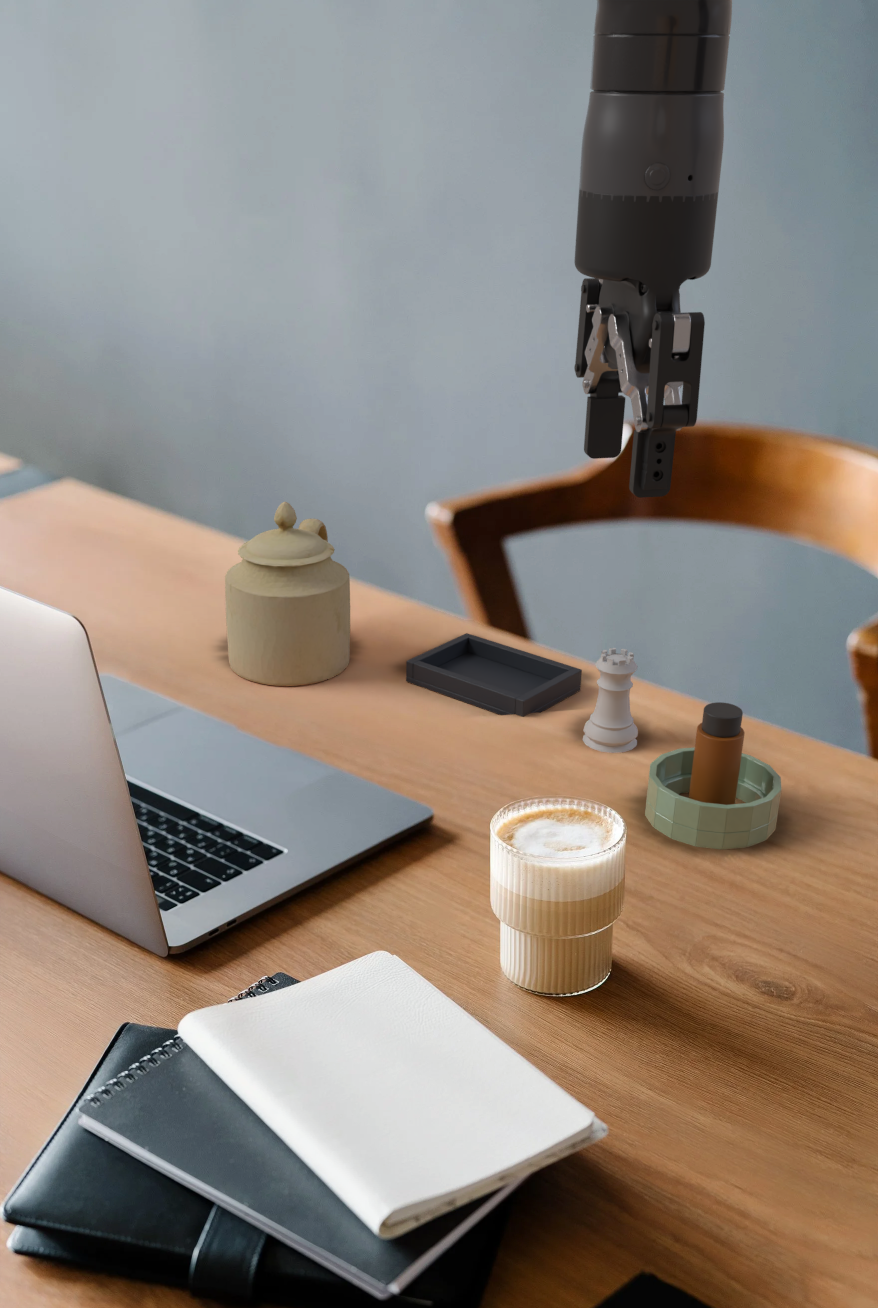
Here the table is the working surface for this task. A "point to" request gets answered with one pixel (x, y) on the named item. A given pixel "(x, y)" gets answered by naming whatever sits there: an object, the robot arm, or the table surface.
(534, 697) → the tray
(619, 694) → the rook chess piece
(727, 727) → the bottle
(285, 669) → the sugar bowl
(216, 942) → the table surface
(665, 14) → the robot arm
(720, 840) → the green hollow ring
